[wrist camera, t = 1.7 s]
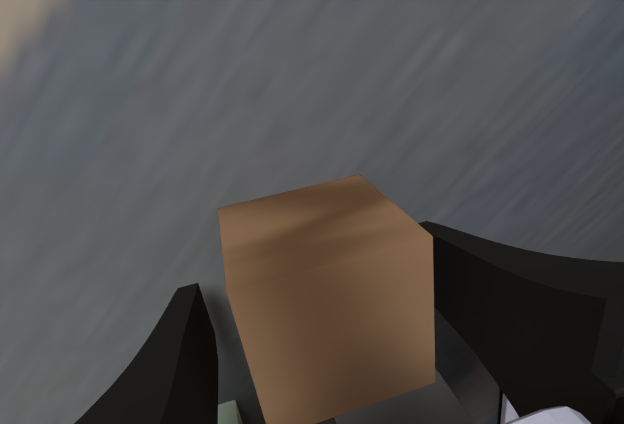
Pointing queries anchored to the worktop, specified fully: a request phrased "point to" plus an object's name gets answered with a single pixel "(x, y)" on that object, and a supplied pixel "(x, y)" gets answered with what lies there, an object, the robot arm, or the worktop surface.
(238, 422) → the green base block
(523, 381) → the robot arm
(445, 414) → the charcoal cube
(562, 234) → the worktop surface
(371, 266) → the walnut cube
